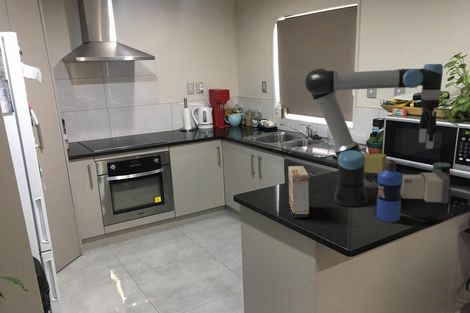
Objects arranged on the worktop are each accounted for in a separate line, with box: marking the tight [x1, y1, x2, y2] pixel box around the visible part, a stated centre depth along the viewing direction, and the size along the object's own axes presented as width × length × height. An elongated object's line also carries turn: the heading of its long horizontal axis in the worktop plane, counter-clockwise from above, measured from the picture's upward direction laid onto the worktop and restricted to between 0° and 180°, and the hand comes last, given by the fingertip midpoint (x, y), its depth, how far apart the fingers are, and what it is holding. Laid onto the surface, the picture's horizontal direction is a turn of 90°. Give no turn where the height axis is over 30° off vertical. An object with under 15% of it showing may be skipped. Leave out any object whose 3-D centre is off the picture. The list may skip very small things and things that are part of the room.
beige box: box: [400, 174, 425, 200], centre depth 175 cm, size 9×6×10 cm
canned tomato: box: [432, 161, 452, 179], centre depth 190 cm, size 8×8×11 cm
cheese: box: [364, 153, 387, 174], centre depth 221 cm, size 10×11×10 cm
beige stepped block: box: [419, 170, 451, 204], centre depth 173 cm, size 9×16×11 cm, turn 166°
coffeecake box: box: [288, 165, 310, 215], centre depth 163 cm, size 15×7×20 cm, turn 178°
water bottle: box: [376, 159, 404, 223], centre depth 150 cm, size 9×9×25 cm
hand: (425, 145), depth 171 cm, fingers open, 13 cm apart
